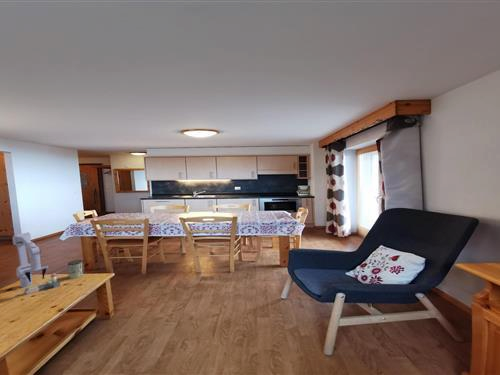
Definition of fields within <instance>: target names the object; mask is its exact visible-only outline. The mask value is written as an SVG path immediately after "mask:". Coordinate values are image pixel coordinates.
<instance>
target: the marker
mask: <svg viewBox="0 0 500 375" xmlns="http://www.w3.org/2000/svg"><path fill="white" fill-rule="evenodd" d="M50 278H51V280H50V281H52V283H54V284H56V283H57V282H56V281H57V273H56V272H55V273H54V272H53V273H51V274H50Z"/></svg>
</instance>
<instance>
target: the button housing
mask: <svg viewBox="0 0 500 375" xmlns="http://www.w3.org/2000/svg"><path fill="white" fill-rule="evenodd" d="M51 289H55V288H54V283H51V284H48V285H44V291H47V290H51Z"/></svg>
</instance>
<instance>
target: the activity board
mask: <svg viewBox="0 0 500 375" xmlns="http://www.w3.org/2000/svg"><path fill="white" fill-rule="evenodd" d="M56 282H57V283H56V284H54V288H53V289H56V288H59V287H61V280H56ZM44 285H46V283H43V284H39V285H34V286H32V287H31V286H29V287H25V288H24V292H23V296H27V295H31V294H36V293H40V292H44V291H45V290H44Z"/></svg>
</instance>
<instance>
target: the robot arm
mask: <svg viewBox="0 0 500 375" xmlns="http://www.w3.org/2000/svg"><path fill="white" fill-rule="evenodd" d="M12 244H13V246H16V248H17V254H18V260H19V266H18V267H16V269H15V270H16V271H15V272H16V273H15V275H16V277H17V278H19V286H20V288H24V289H25V288H29V287H31V286H33V277H32V276H33V274H34V273H35V272H38V271H41V272H42V280H44V279H45V274H46V272H47V270H48V269H49V265H45V266H42V265H41V253H42V249H41V247H40V246H37V245H36V244H35V243H34V242H33V241H31V234H30V232H25V233H24V232H23V233H19V234H14V235H12ZM27 251H28V252H27ZM27 253H28V254H27ZM27 255H28V256H27ZM28 258H29V259H28ZM28 260H29V261H30V263H29V261H28Z"/></svg>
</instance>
